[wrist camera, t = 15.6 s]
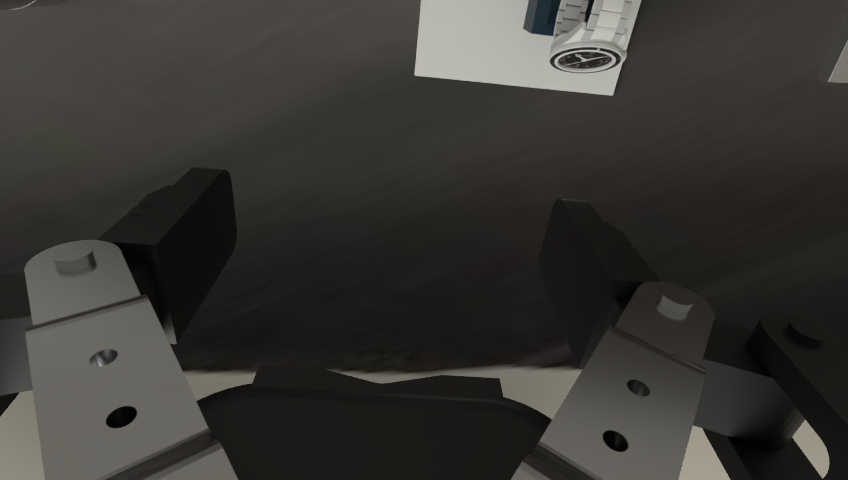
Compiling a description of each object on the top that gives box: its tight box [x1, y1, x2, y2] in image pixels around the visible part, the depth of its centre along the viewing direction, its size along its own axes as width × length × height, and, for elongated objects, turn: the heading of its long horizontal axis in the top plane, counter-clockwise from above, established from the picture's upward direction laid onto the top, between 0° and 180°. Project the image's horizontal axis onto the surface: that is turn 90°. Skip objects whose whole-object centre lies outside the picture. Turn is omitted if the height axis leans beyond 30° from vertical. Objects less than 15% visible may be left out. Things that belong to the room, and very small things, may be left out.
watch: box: [523, 0, 632, 73], centre depth 34 cm, size 6×8×11 cm
